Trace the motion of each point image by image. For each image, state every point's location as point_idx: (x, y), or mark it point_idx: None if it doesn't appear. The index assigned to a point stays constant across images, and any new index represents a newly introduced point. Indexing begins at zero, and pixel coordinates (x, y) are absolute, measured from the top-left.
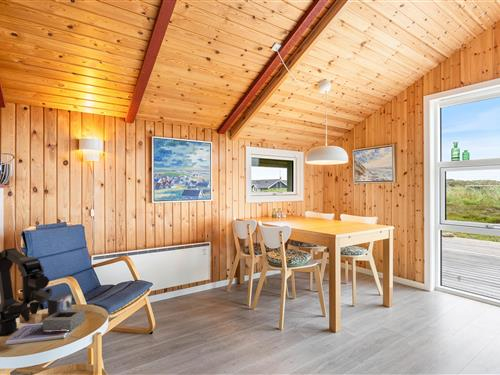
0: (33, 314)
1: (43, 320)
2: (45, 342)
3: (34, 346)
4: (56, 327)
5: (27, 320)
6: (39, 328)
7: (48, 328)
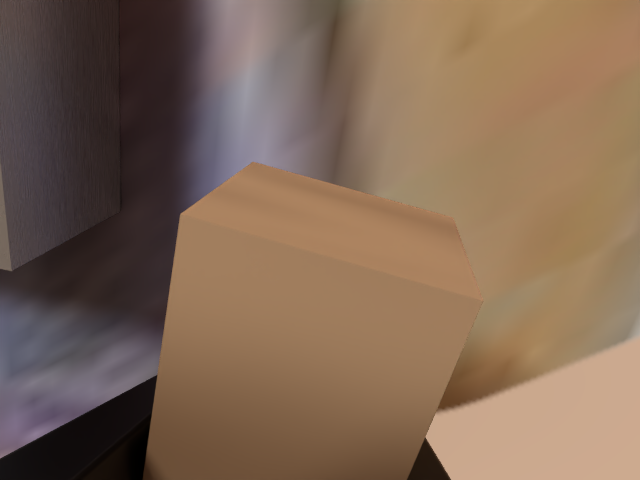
0: (208, 453)
1: (13, 257)
2: (401, 18)
3: (483, 116)
4: (79, 22)
5: (428, 449)
6: (36, 296)
7: (92, 149)
